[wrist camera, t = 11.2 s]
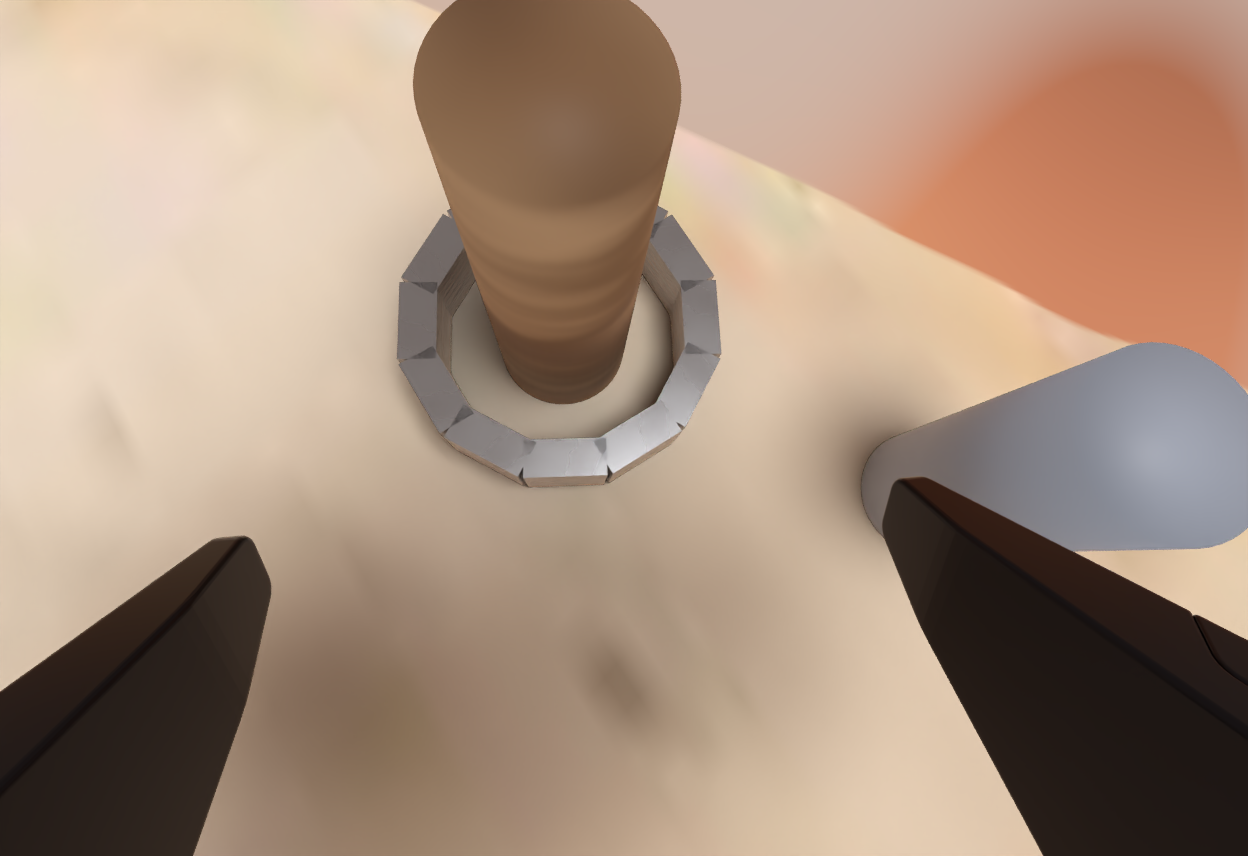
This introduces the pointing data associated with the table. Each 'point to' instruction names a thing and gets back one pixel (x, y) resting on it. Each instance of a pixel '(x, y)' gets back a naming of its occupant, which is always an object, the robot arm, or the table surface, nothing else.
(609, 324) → the walnut peg
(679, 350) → the steel ring
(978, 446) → the slate-blue peg
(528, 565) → the table surface
